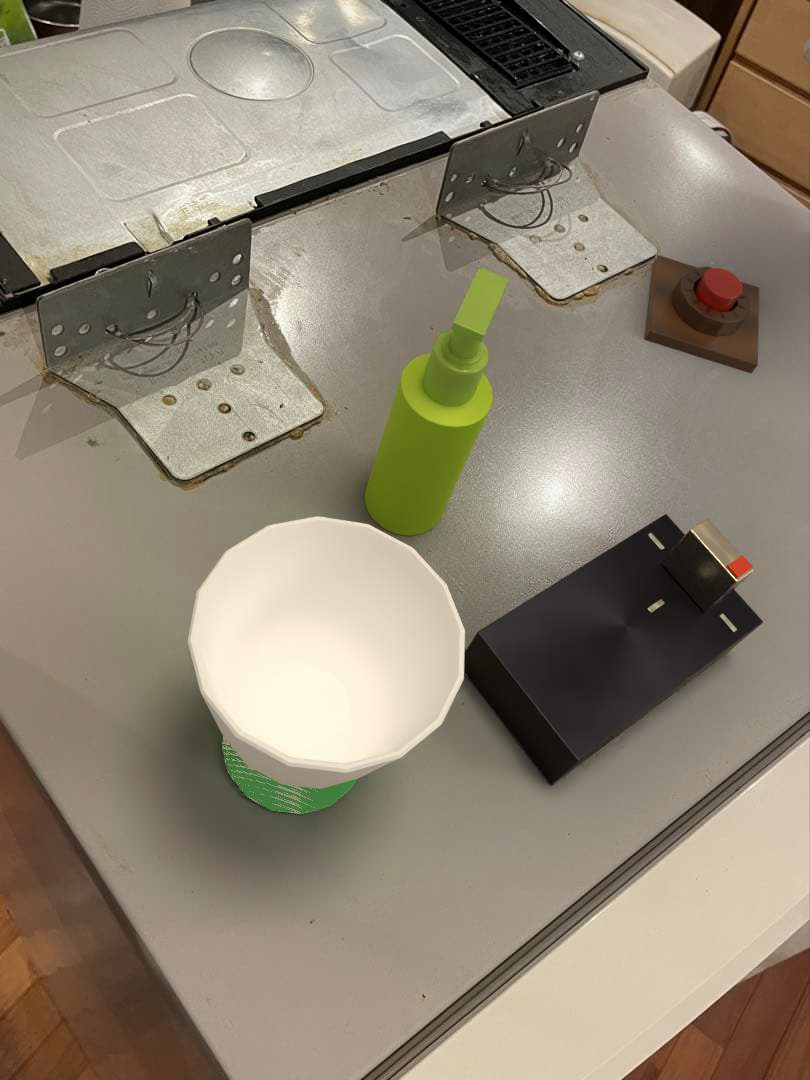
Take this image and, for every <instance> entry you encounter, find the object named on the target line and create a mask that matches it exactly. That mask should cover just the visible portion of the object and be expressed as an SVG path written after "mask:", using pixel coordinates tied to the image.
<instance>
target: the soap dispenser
mask: <svg viewBox="0 0 810 1080" xmlns="http://www.w3.org/2000/svg"><path fill="white" fill-rule="evenodd" d="M509 281H510V279H509V278H508V277H504V276H502V275H500V274H497V273H495V272H493V271H490V270H489V269H486V268H483V267H480V266H479V268H478V270H477V272H476V274H475V276H474V278H473V280H472V281H471V284H470V286H469V288H468V290H467V291H466V294H465V296H464V298H463V301H462V302H461V305H460V307H459V309H458V311H457V314H456V315H455V318H454V319H453V322H452V325H451V328H450V330H447V331H443V332H442V333H441V334H439V335H438V336H437V337H436V339H435V341H434V343H433V345H432V348H431V351H430V352H428V353H424V354H421V355H419V356H417V357H414V358H413V359H412V360H410V361H409V363H407V365H406V366H405V368H403V371H402V374H401V377H400V380H399V383H398V386H397V388H396V393H395V396H394V398H393V402H392V405H391V408H390V412H389V415H388V418H387V421H386V424H385V427H384V430H383V434H382V437H381V440H380V442H379V447H378V450H377V453H376V456H375V459H374V462H373V466H372V468H371V472H370V475H369V478H368V481H367V485H366V487H365V491H364V503H365V507H366V510H367V511H368V513H369V515H370V517H371V518H372V520H373V521H374V522H375V523H377V524H378V526H380V527H382V529H384V530H386V531H387V532H391V533H392V534H395V535H400V536H407V537H408V536H409V537H411V536H418V535H422V534H425V533H427V532H429V531H431V530H432V529H433V528H434V527H435V526H436V525H437V524H438V523H439V522H440V520H441V518H442V516H443V514H444V512H445V510H446V507H447V505H448V504H449V501H450V499H451V496H452V495H453V492H454V490H455V487H456V485H457V483H458V481H459V479H460V476H461V474H462V472H463V470H464V467H465V466H466V464H467V461H468V459H469V456H470V454H471V452H472V450H473V447H474V445H475V443H476V441H477V438H478V436H479V434H480V432H481V431H482V430H481V429H482V428H483V425H484V423H485V421H486V419H487V417H488V415H489V412H490V410H491V408H492V404H493V399H494V397H493V389H492V385H491V383H490V381H489V379H488V378H487V376H486V374H485V373H484V372H485V370H486V367H487V365H488V362H489V357H490V356H489V350H488V348H487V345H486V344H485V343H484V342H483V340H484V338H485V335H486V333H487V331H488V329H489V327H490V324H491V322H492V319H493V318H494V316H495V313H496V312H497V308H498V306H499V305H500V301H501V299H502V297H503V296H504V293H505V290H506V288H507V285H508V283H509Z"/></svg>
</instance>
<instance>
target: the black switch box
mask: <svg viewBox="0 0 810 1080" xmlns="http://www.w3.org/2000/svg"><path fill="white" fill-rule="evenodd" d="M685 535H686V533H684V532H683V531H682V530H681V528H680V527H679V526H678V525H677V524H676V523H675V521H673V519H671V517H670V516H669V515H668V514H667V513H664V514H663V515H661V516H660V517H658V518H657V519H655V520H654V521H652V522H650V523H648V524H646V525H645V526H644V527H642V528H640V529H639V530H637V531H636V532H634V533H633V534H630V536H628V537H626V538H624V539H623V540H622V541H620V542H618V543H617V544H615V545H614V546H612V547H610V548H609V549H607V550H605V551H604V552H602V553H601V554H600V555H597V556H596V557H595V558H593V559H591V560H589V561H588V562H587V563H585V564H582V566H580V567H579V568H577V569H575V570H574V571H572V572H570V573H569V574H567V575H566V576H564V577H562V578H560V580H558V581H556V582H554V583H553V584H552V585H550V586H548V587H547V588H545V589H543V590H542V591H540V592H539V593H537V594H536V595H534V596H532V597H531V598H529V599H528V600H526V601H524V602H522V603H521V604H520V605H518V606H517V607H515V608H513V609H512V610H510V611H508V612H507V613H505V614H503V615H502V616H501V617H499V618H497V619H496V620H494V621H492V622H491V623H489V624H487V625H486V626H484V627H483V628H481V629H480V630H478V631H477V632H476V634H475V635H474V637H473V638H472V640H471V642H470V643H469V644H468V646H467V648H466V649H465V650H464V675H466V677H467V676H468V677H467V679H469V680H470V682H471V683H472V684H473V686H474V687H475V688H476V690H477V689H478V690H477V691H478V692H479V693H480V695H481V696H482V698H483V699H484V700H485V701H486V703H487V704H488V705H489V707H490V708H491V709H492V711H493V712H494V713H495V715H496V716H497V717H498V718H499V720H500V721H501V722H502V724H503V725H504V726H505V727H506V729H507V730H508V731H509V733H510V735H512V737H513V738H514V740H515V741H516V742H517V743H518V745H519V746H520V747H521V748H522V750H523V751H524V753H526V755H527V756H528V757H529V759H530V760H531V762H532V763H533V764H534V765H535V767H536V768H537V769H538V770H539V773H541V775H542V777H543V778H544V779H545V780H546V781H547V783H548V784H549V785H550V786H553V785H554V784H556V783H558V781H561V780H562V778H564V777H565V776H567V775H568V774H569V773H570V772H572V771H573V770H575V769H576V768H577V767H579V766H580V765H581V764H582V763H584V762H585V761H586V760H588V759H589V758H591V757H592V756H593V755H594V754H596V753H597V752H599V751H600V750H601V749H602V748H604V747H605V746H607V744H608V743H610V742H612V741H613V740H614V739H616V738H617V737H618V736H620V735H621V734H622V733H624V732H625V731H626V730H628V729H629V728H630V727H632V726H633V725H634V724H635V723H637V722H638V721H640V720H641V719H642V718H644V717H645V716H646V715H647V714H649V713H650V712H651V711H653V710H654V709H655V708H657V707H658V706H659V705H661V704H662V703H664V702H665V701H666V700H667V699H669V698H670V697H671V696H672V695H674V694H675V693H677V692H678V691H679V690H680V689H682V688H683V687H684V686H686V685H687V684H689V683H690V682H691V681H692V680H694V679H695V678H696V677H697V676H699V675H700V674H702V673H703V672H704V671H706V670H707V669H708V668H709V667H711V666H712V665H713V664H715V663H717V661H719V660H720V659H721V658H723V657H725V655H727V654H728V653H729V652H731V650H733V649H734V648H735V647H737V646H738V645H739V644H740V643H741V642H742V641H744V640H745V639H746V638H747V637H749V635H750V634H752V633H753V632H754V631H755V630H756V629H758V628H759V627H760V626H761V625H762V624H763V623H764V621H763V619H762V618H761V617H760V616H759V614H757V613H756V612H755V610H754V609H753V608H752V607H751V606H750V605H749V604H748V602H746V601H745V600H744V599H743V597H742V596H741V594H739V592H737V591H736V589H734V590H733V591H732V592H731V593H730V594H729V595H728V596H727V597H726V598H725V599H724V600H723V601H721V602H720V603H719V604H717V605H716V606H714V607H713V608H711V609H710V610H709V611H707V612H704V611H703V610H702V609H701V608H700V607H699V605H698V604H697V603H696V602H695V601H694V600H693V599H692V597H691V596H690V595H689V594H688V593H687V592H686V591H685V589H684V588H683V587H682V586H681V585H680V584H679V582H678V581H677V580H676V579H675V578H674V577H673V576H672V574H671V573H670V572H669V571H668V570H667V569H666V567H665V566H664V565H663V564H662V561H663V560H664V559H665V557H666V556H667V555H668V554H669V553H670V552H671V551H672V549H673V548H674V547H675V546H676V545H677V544H678V543H679V541H680V540H681V539H682V538H683V537H684V536H685Z"/></svg>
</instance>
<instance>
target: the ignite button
mask: <svg viewBox="0 0 810 1080" xmlns="http://www.w3.org/2000/svg"><path fill="white" fill-rule="evenodd" d="M711 268H712V269H709V270H708V271H706V272H705V274H704V275H703V277H702V279H701V280H700V282H699V283H698V285H697V286H696V290H695V293H696V296H697V298H698V300H699V301H700V302H702V303H703V304H704V305H705V306H707V307H708V308H710V309H713V310H716V311H719V312H725V311H728V310H730V309H731V308H732V307H733V305H734V304H735V302H736V301H737V299H738V298H739V297H740V295H741V293H742V284H741V282H742V281H741V280H740V279H739V278H738V276H737V275H735V274H734V273H732V272H731V271H729V270H727V269H724V268H721V267H711ZM740 281H741V282H740Z"/></svg>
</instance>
